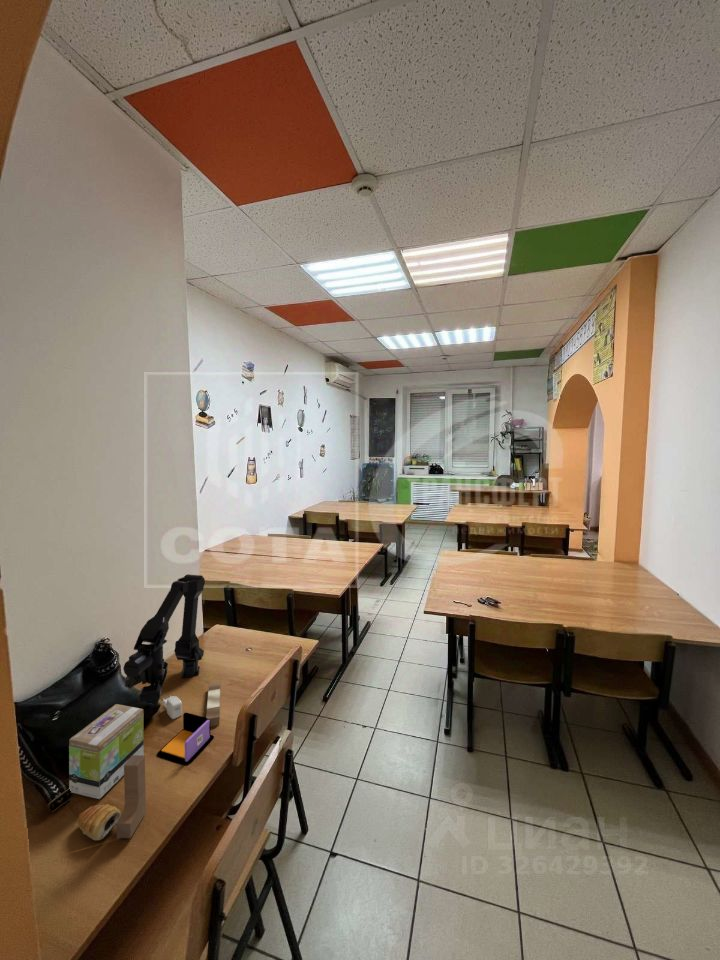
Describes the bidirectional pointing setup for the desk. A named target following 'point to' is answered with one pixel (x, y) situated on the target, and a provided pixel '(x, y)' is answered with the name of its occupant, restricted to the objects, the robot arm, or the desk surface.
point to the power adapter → (173, 706)
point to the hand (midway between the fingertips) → (154, 703)
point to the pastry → (98, 820)
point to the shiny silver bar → (213, 703)
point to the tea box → (105, 750)
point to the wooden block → (133, 796)
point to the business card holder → (188, 740)
